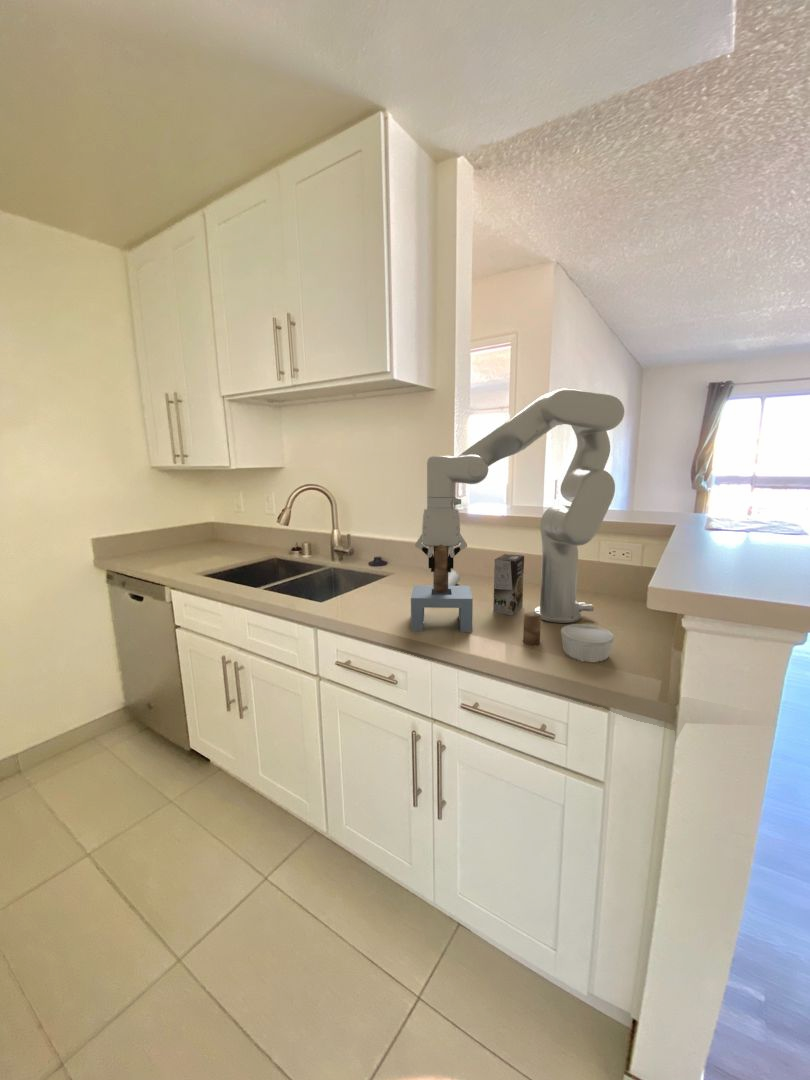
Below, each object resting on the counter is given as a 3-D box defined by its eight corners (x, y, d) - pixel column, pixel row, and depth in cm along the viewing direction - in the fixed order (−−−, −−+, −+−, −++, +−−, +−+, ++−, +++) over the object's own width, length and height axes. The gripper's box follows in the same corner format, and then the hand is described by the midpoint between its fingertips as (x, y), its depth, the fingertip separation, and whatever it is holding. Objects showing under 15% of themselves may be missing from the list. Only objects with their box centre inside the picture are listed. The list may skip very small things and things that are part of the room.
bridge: (469, 615, 125) (469, 585, 124) (472, 631, 113) (472, 598, 112) (414, 615, 126) (413, 585, 125) (411, 630, 115) (410, 598, 113)
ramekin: (601, 644, 105) (602, 623, 104) (621, 665, 94) (622, 642, 93) (554, 643, 105) (555, 623, 104) (568, 665, 94) (569, 642, 93)
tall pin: (448, 588, 120) (448, 539, 118) (448, 593, 116) (448, 541, 114) (433, 588, 120) (433, 539, 118) (433, 592, 116) (433, 541, 114)
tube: (448, 593, 134) (462, 573, 158) (432, 587, 135) (448, 567, 159) (443, 608, 136) (457, 586, 159) (427, 602, 137) (444, 580, 160)
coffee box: (513, 615, 125) (515, 561, 122) (492, 612, 128) (493, 558, 125) (523, 606, 132) (525, 555, 129) (503, 603, 135) (504, 553, 133)
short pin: (538, 639, 108) (539, 612, 107) (541, 645, 104) (542, 618, 103) (521, 638, 108) (522, 612, 107) (524, 645, 104) (525, 617, 103)
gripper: (472, 502, 117) (471, 568, 120) (410, 502, 118) (411, 567, 122) (474, 504, 110) (473, 574, 113) (408, 504, 111) (409, 574, 114)
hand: (440, 570), depth 117 cm, fingers closed on tall pin, 4 cm apart
